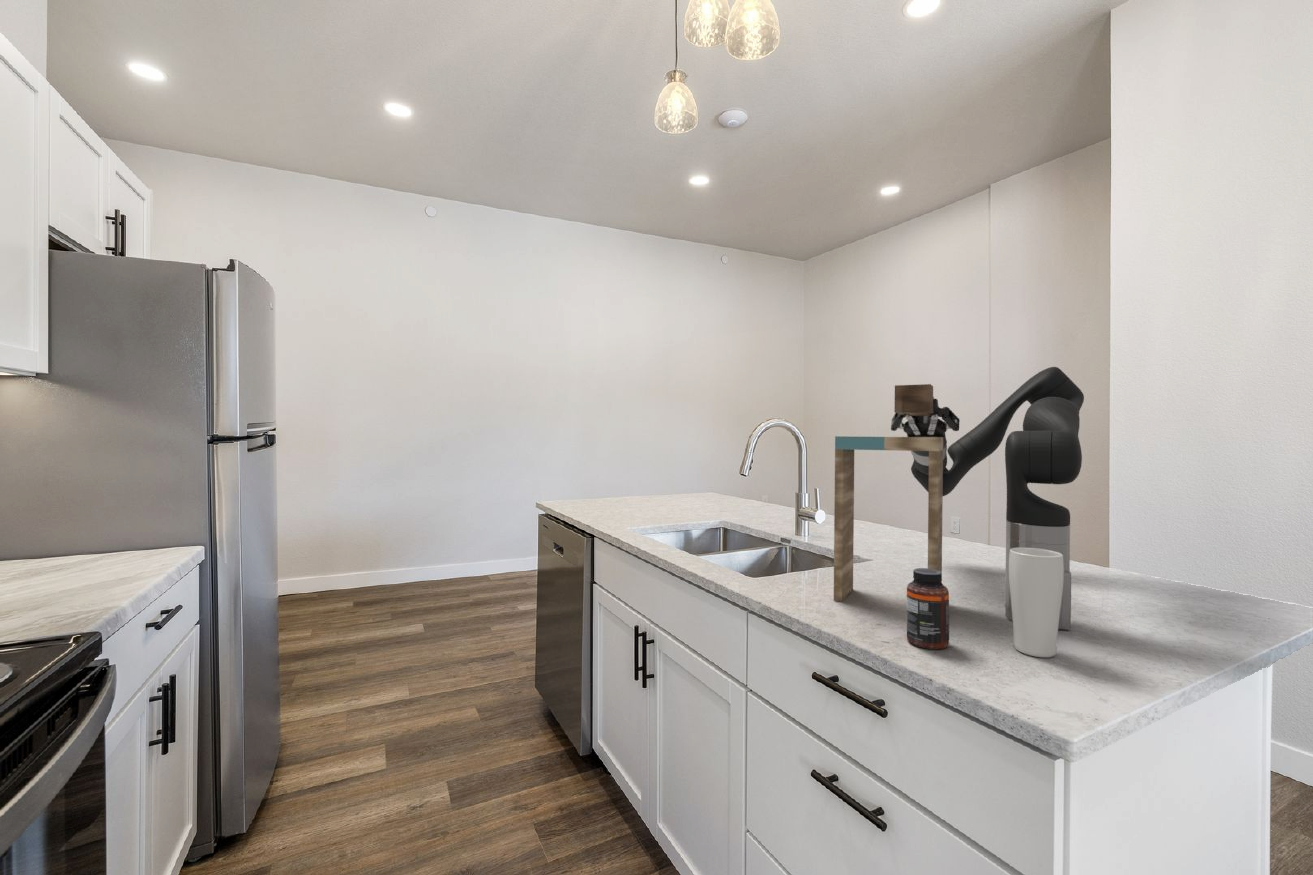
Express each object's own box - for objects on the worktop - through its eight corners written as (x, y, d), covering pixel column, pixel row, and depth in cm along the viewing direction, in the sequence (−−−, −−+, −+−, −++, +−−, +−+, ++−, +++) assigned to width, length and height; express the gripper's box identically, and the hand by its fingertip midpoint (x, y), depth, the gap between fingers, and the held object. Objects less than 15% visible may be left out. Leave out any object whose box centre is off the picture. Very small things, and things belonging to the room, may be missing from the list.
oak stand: (941, 602, 107) (943, 437, 107) (936, 616, 99) (938, 437, 99) (845, 588, 117) (847, 436, 117) (833, 600, 108) (835, 436, 108)
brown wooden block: (939, 415, 115) (939, 391, 115) (930, 411, 100) (930, 384, 100) (907, 416, 118) (907, 392, 118) (894, 412, 104) (894, 385, 104)
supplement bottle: (939, 637, 89) (940, 566, 89) (955, 651, 83) (956, 576, 83) (900, 635, 89) (901, 565, 89) (914, 650, 83) (915, 574, 83)
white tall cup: (1064, 664, 78) (1066, 558, 78) (1007, 654, 82) (1009, 553, 82) (1060, 649, 84) (1061, 550, 84) (1007, 640, 88) (1008, 545, 88)
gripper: (962, 458, 120) (958, 415, 107) (892, 456, 127) (880, 416, 114) (964, 428, 123) (960, 383, 110) (895, 428, 130) (884, 386, 118)
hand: (920, 400), depth 112 cm, fingers closed on brown wooden block, 3 cm apart
